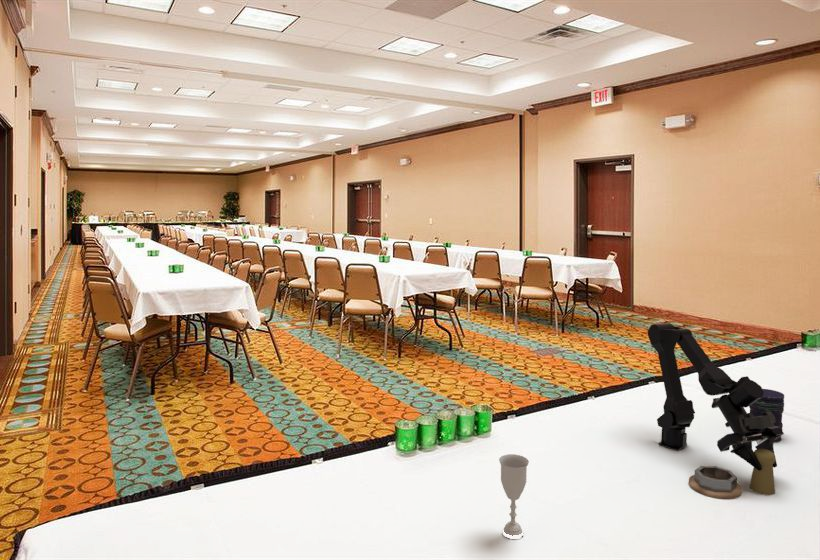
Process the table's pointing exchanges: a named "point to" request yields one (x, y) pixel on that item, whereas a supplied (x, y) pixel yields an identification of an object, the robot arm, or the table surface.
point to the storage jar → (770, 407)
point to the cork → (763, 473)
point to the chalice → (513, 485)
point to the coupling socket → (715, 482)
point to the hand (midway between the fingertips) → (768, 468)
